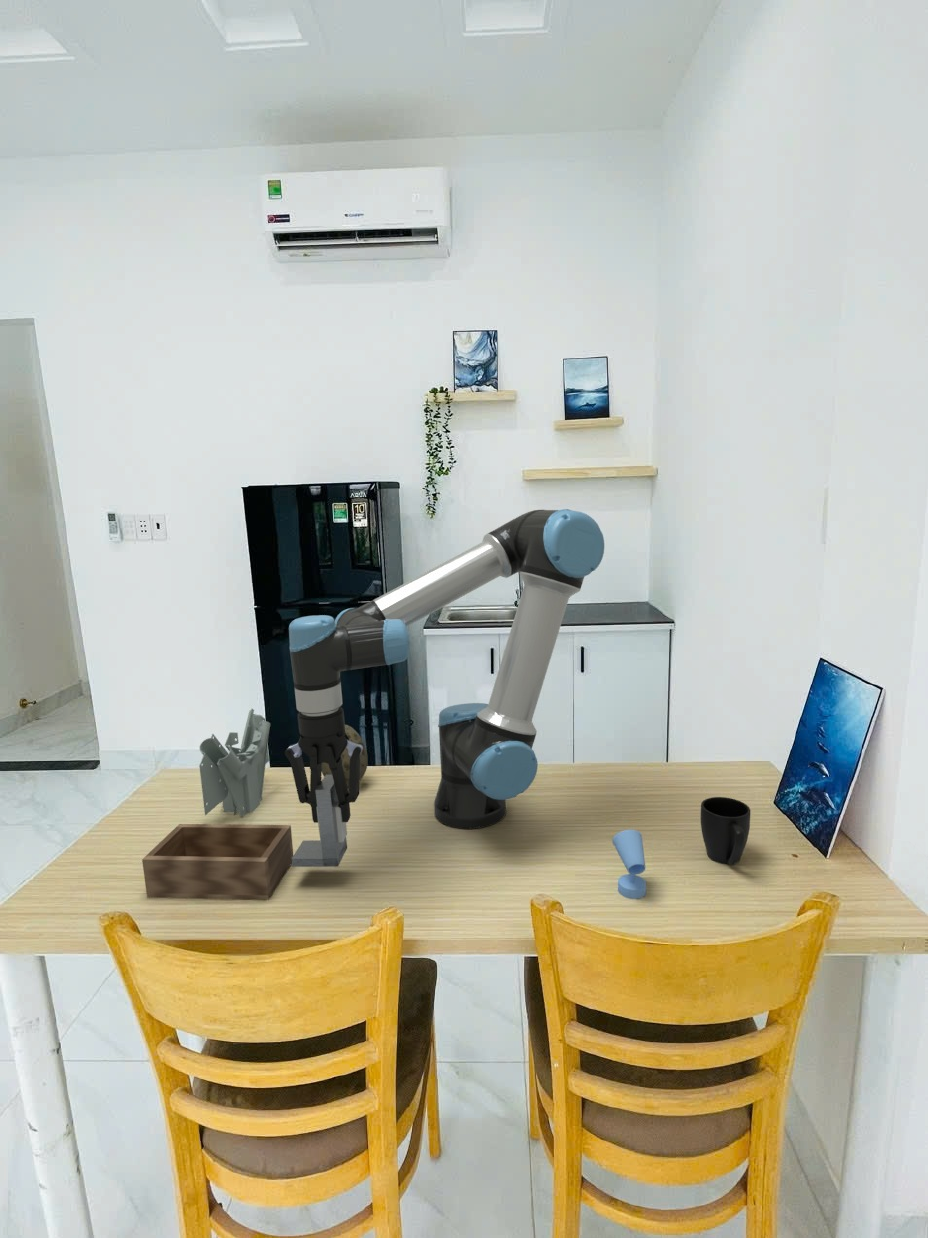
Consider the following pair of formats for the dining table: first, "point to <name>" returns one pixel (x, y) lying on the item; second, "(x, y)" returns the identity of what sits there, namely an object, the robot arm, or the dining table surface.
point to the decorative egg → (346, 758)
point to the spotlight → (631, 863)
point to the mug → (725, 828)
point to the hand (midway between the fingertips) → (333, 838)
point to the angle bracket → (323, 832)
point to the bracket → (235, 768)
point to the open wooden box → (219, 861)
